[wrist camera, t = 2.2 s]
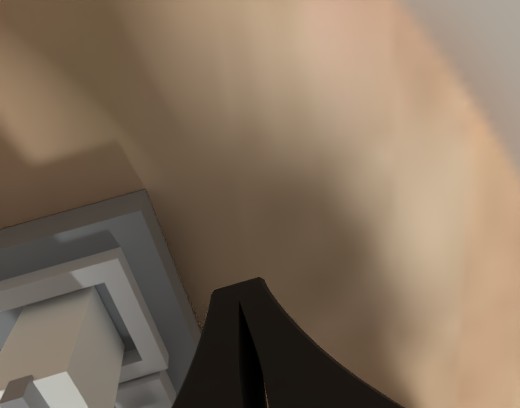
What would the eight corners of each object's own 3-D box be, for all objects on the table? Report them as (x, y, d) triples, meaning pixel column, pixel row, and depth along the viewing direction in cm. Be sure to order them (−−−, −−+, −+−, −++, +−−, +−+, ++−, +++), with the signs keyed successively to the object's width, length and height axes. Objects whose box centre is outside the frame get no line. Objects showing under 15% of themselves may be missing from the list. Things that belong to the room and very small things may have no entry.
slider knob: (126, 348, 13) (107, 462, 10) (62, 367, 13) (22, 489, 10) (92, 282, 12) (58, 386, 9) (23, 302, 12) (-39, 415, 9)
